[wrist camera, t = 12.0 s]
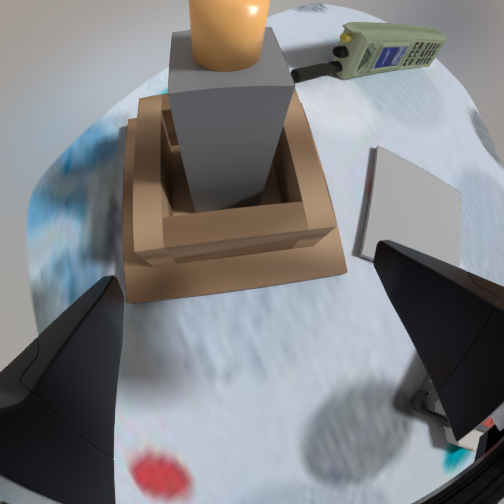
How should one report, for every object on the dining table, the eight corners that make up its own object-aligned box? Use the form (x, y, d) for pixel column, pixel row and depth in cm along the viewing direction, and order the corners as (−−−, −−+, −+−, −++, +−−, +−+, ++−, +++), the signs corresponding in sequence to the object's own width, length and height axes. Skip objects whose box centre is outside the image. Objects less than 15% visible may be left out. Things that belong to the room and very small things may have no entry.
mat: (452, 293, 19) (456, 292, 19) (358, 255, 19) (362, 254, 18) (457, 194, 21) (460, 192, 21) (375, 148, 21) (378, 145, 21)
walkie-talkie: (387, 423, 17) (489, 453, 16) (419, 440, 12) (513, 461, 12) (434, 323, 19) (518, 386, 18) (471, 321, 14) (543, 388, 14)
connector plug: (258, 206, 18) (313, 26, 5) (195, 213, 17) (155, 30, 5) (249, 154, 19) (280, -21, 6) (192, 160, 18) (167, -17, 6)
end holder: (341, 274, 18) (377, 259, 14) (131, 303, 17) (99, 297, 12) (298, 110, 21) (313, 68, 17) (131, 126, 20) (114, 85, 15)
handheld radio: (431, 69, 27) (302, 97, 22) (415, 55, 28) (281, 77, 23) (451, 40, 21) (320, 40, 16) (433, 25, 21) (293, 21, 16)
